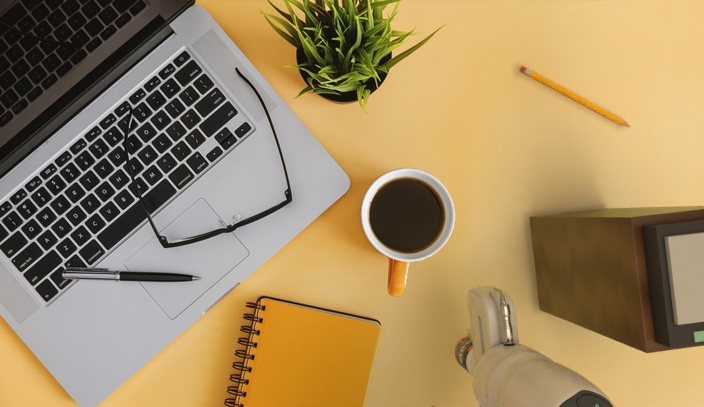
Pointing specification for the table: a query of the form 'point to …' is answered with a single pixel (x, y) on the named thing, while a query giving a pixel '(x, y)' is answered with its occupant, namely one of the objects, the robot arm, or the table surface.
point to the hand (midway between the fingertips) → (476, 356)
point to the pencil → (574, 96)
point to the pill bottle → (465, 354)
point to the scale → (676, 281)
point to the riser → (601, 269)
